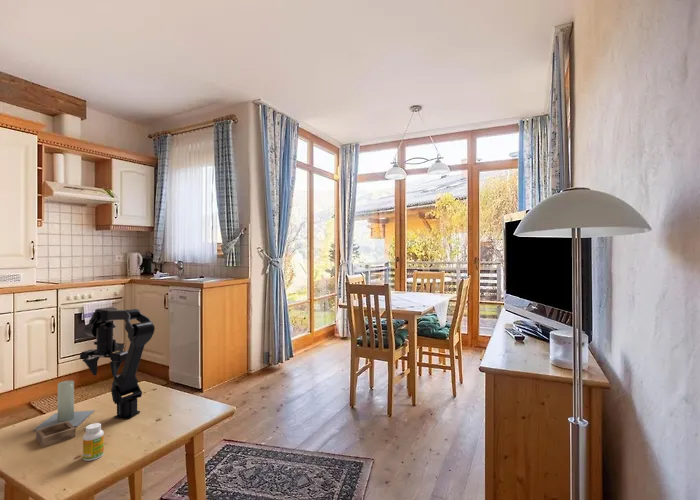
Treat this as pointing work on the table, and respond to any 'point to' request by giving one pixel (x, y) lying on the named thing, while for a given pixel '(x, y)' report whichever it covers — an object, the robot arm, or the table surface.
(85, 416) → the mat
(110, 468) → the table surface
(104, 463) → the table surface
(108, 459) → the table surface
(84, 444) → the supplement bottle
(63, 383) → the green bottle
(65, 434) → the brown square open box
